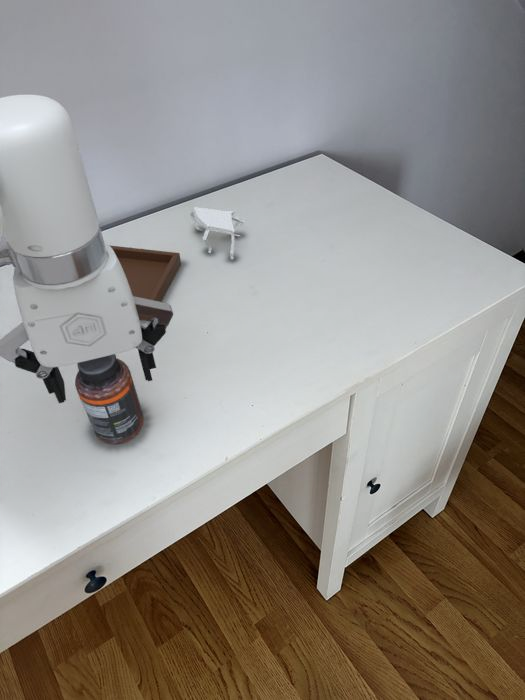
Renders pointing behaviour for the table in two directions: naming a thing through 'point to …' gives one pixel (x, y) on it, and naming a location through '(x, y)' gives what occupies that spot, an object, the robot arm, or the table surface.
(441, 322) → the table surface
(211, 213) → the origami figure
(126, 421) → the supplement bottle
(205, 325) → the table surface
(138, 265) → the serving tray
